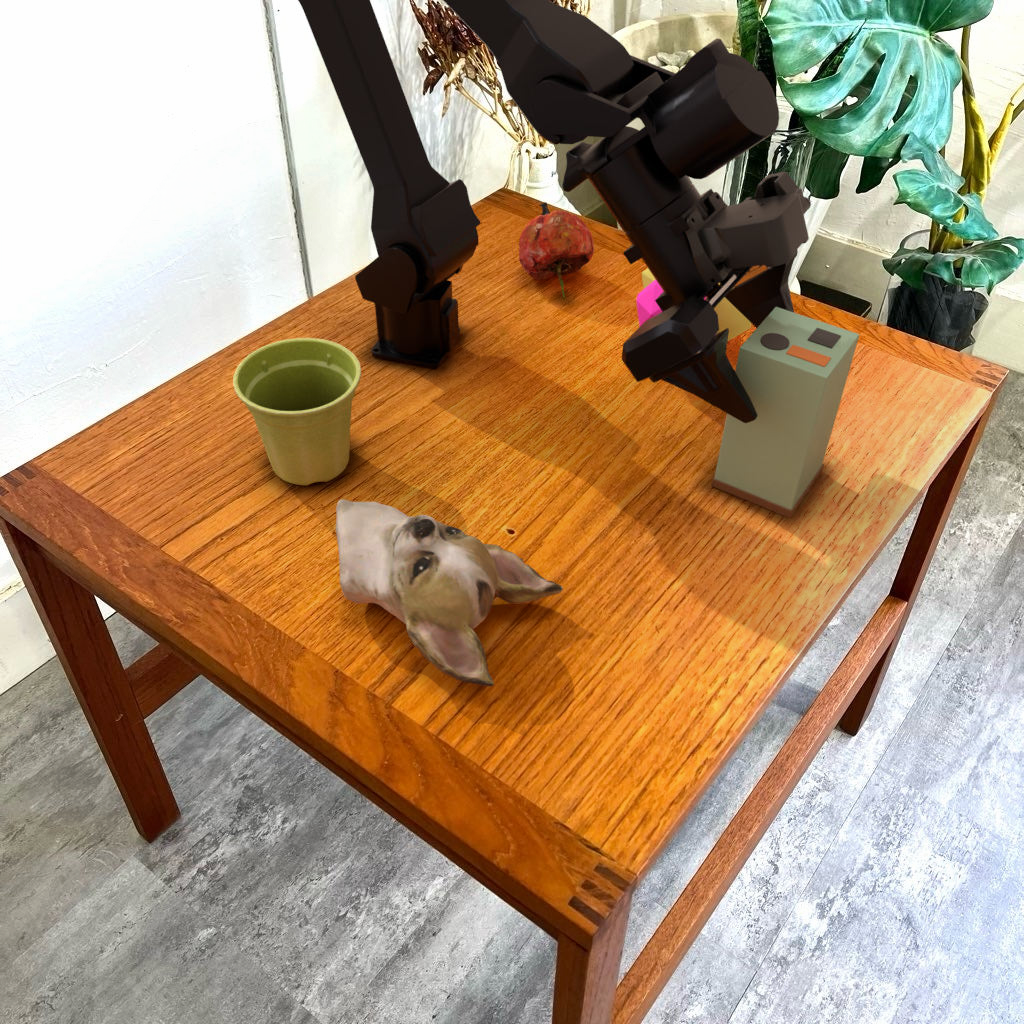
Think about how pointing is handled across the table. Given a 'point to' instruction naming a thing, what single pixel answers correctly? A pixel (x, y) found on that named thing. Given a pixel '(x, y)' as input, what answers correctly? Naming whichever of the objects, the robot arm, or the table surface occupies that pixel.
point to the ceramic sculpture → (431, 581)
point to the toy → (650, 308)
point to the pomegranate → (555, 245)
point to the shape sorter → (785, 409)
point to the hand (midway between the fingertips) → (776, 387)
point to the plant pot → (301, 405)
